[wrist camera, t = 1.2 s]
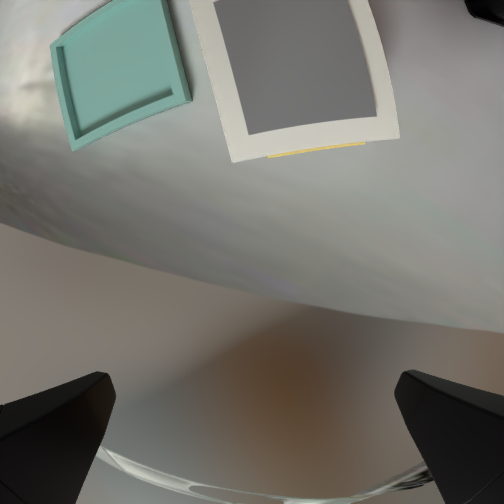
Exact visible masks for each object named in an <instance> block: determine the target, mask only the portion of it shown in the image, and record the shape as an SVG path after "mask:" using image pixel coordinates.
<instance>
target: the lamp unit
mask: <svg viewBox="0 0 504 504" xmlns="http://www.w3.org/2000/svg"><path fill="white" fill-rule="evenodd" d="M189 2H190V6H191V9H192V13H193V17H194V21H195V24H196V28H197V32H198V36H199V39H200V43H201V47H202V51H203V54H204V58H205V62H206V66H207V70H208V73H209V77H210V81H211V85H212V88H213V92H214V96H215V100H216V104H217V107H218V111H219V115H220V119H221V123H222V126H223V130H224V134H225V138H226V142H227V145H228V149H229V153H230V157H231V161H232V163H235V162H239V161H244V160H249V159H254V158H259V157H264V156H267V158H273V157H278V156H284V155H290V154H296V153H302V152H308V151H315V150H322V149H329V148H337V147H345V146H353V145H362V144H365V142H366V141H376V140H388V139H400V134H399V126H398V119H397V113H396V107H395V101H394V95H393V90H392V85H391V80H390V76H389V71H388V67H387V63H386V59H385V55H384V51H383V47H382V43H381V40H380V36H379V33H378V30H377V27H376V23H375V20H374V17H373V14H372V11H371V9H370V6H369V3H368V0H189Z"/></svg>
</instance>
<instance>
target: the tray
mask: <svg viewBox="0 0 504 504" xmlns="http://www.w3.org/2000/svg"><path fill="white" fill-rule="evenodd" d="M50 50H51V58H52V65H53V71H54V77H55V83H56V88H57V93H58V98H59V103H60V107H61V111H62V116H63V120H64V124H65V128H66V131H67V135H68V139H69V142H70V146H71V149H72V151H75V150H78V149H81V148H83V147H85V146H87V145H89V144H91V143H93V142H95V141H96V140H98V139H100V138H103V137H105V136H107V135H109V134H111V133H113V132H115V131H117V130H119V129H122V128H124V127H126V126H128V125H131V124H133V123H135V122H138V121H140V120H142V119H145V118H147V117H150V116H152V115H155V114H158V113H160V112H163V111H166V110H168V109H171V108H174V107H177V106H179V105H182V104H185V103H188V102H191V101H192V98H191V94H190V90H189V86H188V83H187V79H186V75H185V71H184V67H183V63H182V60H181V56H180V52H179V48H178V44H177V40H176V36H175V32H174V28H173V24H172V20H171V16H170V12H169V8H168V4H167V0H113V1H111V2H109V3H108V4H106V5H104V6H103V7H101V8H100V9H98V10H96V11H95V12H93V13H92V14H90V15H89V16H87V17H86V18H85V19H83V20H82V21H80V22H79V23H78V24H76V25H75V26H73V27H72V28H71V29H69V30H68V31H67V32H66V33H64V34H63V35H62V36H60V37H59V38H58V39H57V40H55V41H54V42H53V43H52V44H51V45H50Z"/></svg>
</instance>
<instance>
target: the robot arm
mask: <svg viewBox="0 0 504 504" xmlns="http://www.w3.org/2000/svg"><path fill="white" fill-rule="evenodd" d="M465 3H466V5H467V8H468V10H469V13H470V14H471V15H472V16H473V17H475V18H478V19H481V20H484V21H488V22H491V23H494V24H497V25H500V26H502V27H504V0H465ZM474 11H475V12H474ZM394 396H395V399H396V402H397V404H398V406H399V409H400V411H401V414H402V416H403V419H404V422H405V424H406V426H407V429H408V431H409V433H410V434H411V436H412V438H413V440H414V442H415V444H416V446H417V448H418V450H419V452H420V453H421V455H422V457H423V459H424V461H425V463H426V465H427V467H428V469H429V471H430V473H431V475H432V477H433V479H434V481H435V483H436V485H437V487H438V489H439V491H440V493H441V495H442V497H443V500H444V502H445V504H504V396H502V395H499V394H495V393H491V392H487V391H484V390H480V389H476V388H473V387H469V386H466V385H462V384H459V383H455V382H452V381H449V380H445V379H442V378H439V377H436V376H432V375H429V374H426V373H423V372H420V371H416V370H408V371H404V372H403V373H402V374H401V376H400V379H399V381H398V383H397V385H396V388H395V391H394ZM115 400H116V393H115V389H114V386H113V384H112V381H111V378H110V376H109V374H108V373H104V372H99V371H96V372H94V373H91V374H88V375H86V376H83V377H81V378H78V379H75V380H73V381H70V382H68V383H65V384H62V385H59V386H56V387H54V388H51V389H48V390H45V391H43V392H39V393H37V394H34V395H31V396H28V397H25V398H22V399H19V400H16V401H13V402H10V403H7V404H4V405H0V504H75V503H76V501H77V498H78V496H79V493H80V491H81V488H82V486H83V483H84V481H85V479H86V476H87V474H88V471H89V469H90V467H91V464H92V462H93V460H94V457H95V455H96V453H97V451H98V448H99V446H100V444H101V441H102V439H103V437H104V435H105V432H106V429H107V425H108V422H109V419H110V416H111V413H112V409H113V406H114V403H115Z"/></svg>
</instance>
